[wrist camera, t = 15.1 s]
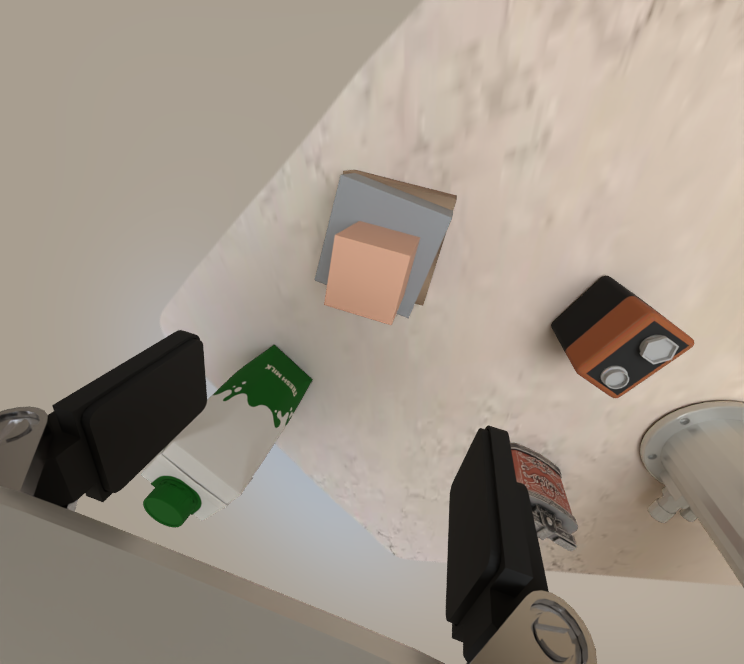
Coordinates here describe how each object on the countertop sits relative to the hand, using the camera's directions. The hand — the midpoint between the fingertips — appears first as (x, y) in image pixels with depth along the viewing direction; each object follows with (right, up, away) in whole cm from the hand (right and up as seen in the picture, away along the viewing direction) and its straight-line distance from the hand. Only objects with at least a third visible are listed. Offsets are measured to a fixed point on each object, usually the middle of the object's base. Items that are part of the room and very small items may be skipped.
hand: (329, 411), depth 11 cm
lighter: (+22, -14, +32) cm, 41 cm away
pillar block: (+2, +9, +17) cm, 19 cm away
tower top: (+3, +11, +20) cm, 23 cm away
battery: (+23, +5, +22) cm, 32 cm away
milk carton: (-11, -3, +35) cm, 37 cm away
